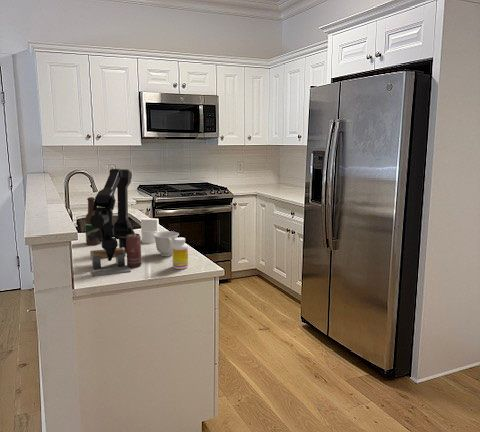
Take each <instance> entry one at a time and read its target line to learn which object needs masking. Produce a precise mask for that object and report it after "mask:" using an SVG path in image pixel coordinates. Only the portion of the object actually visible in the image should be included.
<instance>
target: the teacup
mask: <svg viewBox="0 0 480 432" xmlns="http://www.w3.org/2000/svg"><path fill="white" fill-rule="evenodd" d="M179 235H180V233H179V232H176V231H171V230H169V231H167V230H164V231H159V232H157V233H155V234H153V236H154V237H155V242H156V243H155V246H156V247H155V248H156V250H157V252H159V253H160V256H161V257H170V256H172V246H173V245H174V244H175V242H174V239H175V238H178V236H179Z"/></svg>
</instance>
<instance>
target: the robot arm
mask: <svg viewBox="0 0 480 432" xmlns="http://www.w3.org/2000/svg"><path fill="white" fill-rule="evenodd" d="M132 178H133V173H132V171H130V169H125V168H124V169H123V168H122V169H121V168H111V169H110V170H109V175H108V177H107V180H106V182H105V184H104V187H103V189H102V188H101V189H100V190H99V191H98V192H97V194H96V196H95V197H94V199H95V200H94V205H93V211H95V212H94V214H95V215H93V216H92V217H91V219H90V223H91V225H92V226H93V227H94V228H97V229H94V230H92V231H90V232H87V233H86V232H85V237H86V236H87V238H88V240H89V242H92V241H93V240H95V239H97V238H98V239H99V241H100V242H101V244H100V246H101V248H102V250H104V249H105V250H106V254H107V261H108V262H111V261H112V259H113V258H112V257H113V254H114V252H115V250H116V248H117V247H118V248H123V247H124V248H125V253H127V251H126V236H127V235H128V234H133V233H136V232H135V230H134V228H133V225H132V222H131V221H130V219H129V213H128V212H129V206H128V205H129V204H128V203H129V202H128V201H129V200H128V199H129V198H128V188H129V186H130V184H131V183H132ZM116 189H117V190H116ZM116 191H117V197H116V196H115V193H116ZM115 197H116V198H117V219H116V221H115V222H114V213H113V211H114V208H115V205H116V198H115Z"/></svg>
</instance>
